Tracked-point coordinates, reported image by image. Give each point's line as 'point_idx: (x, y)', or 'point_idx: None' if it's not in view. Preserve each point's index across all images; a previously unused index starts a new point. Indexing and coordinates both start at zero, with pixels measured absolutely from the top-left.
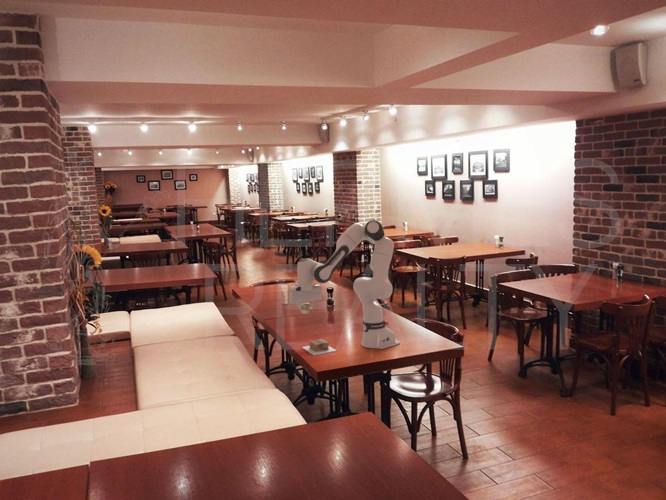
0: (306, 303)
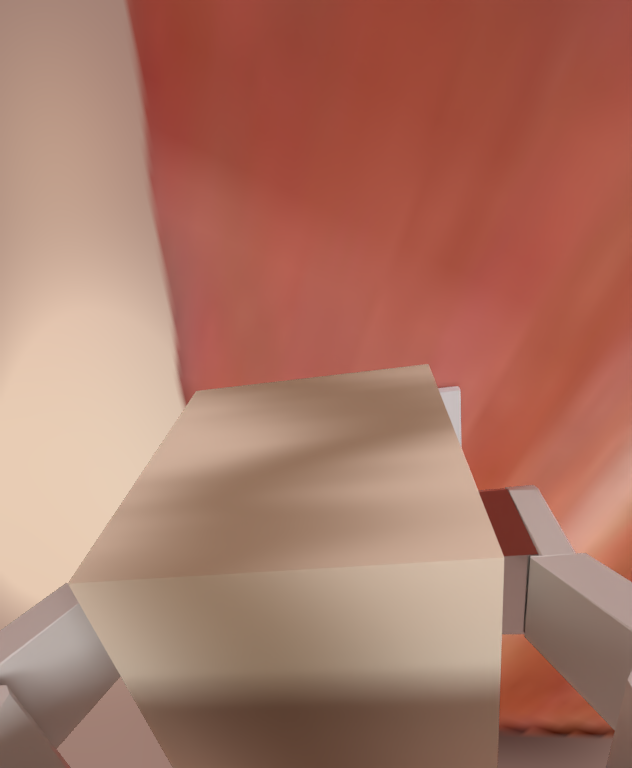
0: (359, 631)
